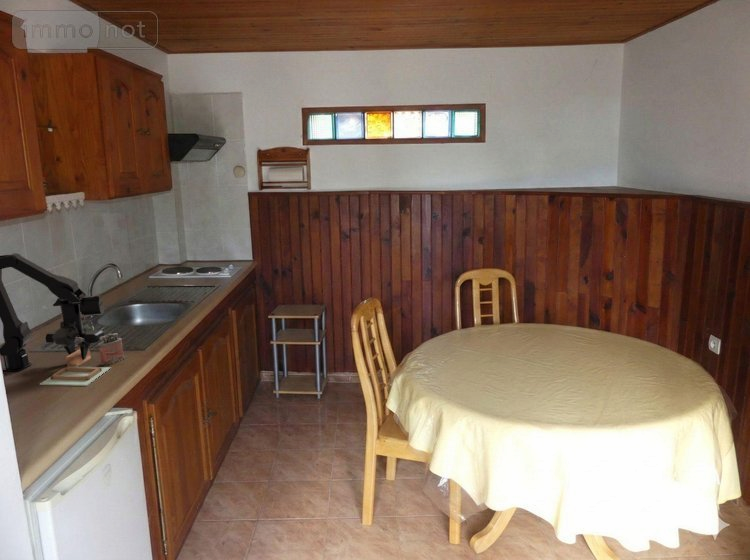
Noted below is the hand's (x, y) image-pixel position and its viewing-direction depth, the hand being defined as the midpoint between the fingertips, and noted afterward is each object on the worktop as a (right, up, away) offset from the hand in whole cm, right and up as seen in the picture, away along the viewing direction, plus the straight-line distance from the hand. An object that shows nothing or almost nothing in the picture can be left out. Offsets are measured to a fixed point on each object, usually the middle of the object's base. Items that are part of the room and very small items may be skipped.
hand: (78, 359), depth 202 cm
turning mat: (+6, -4, -12) cm, 14 cm away
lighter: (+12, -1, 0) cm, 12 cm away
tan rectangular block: (0, -1, 0) cm, 1 cm away
